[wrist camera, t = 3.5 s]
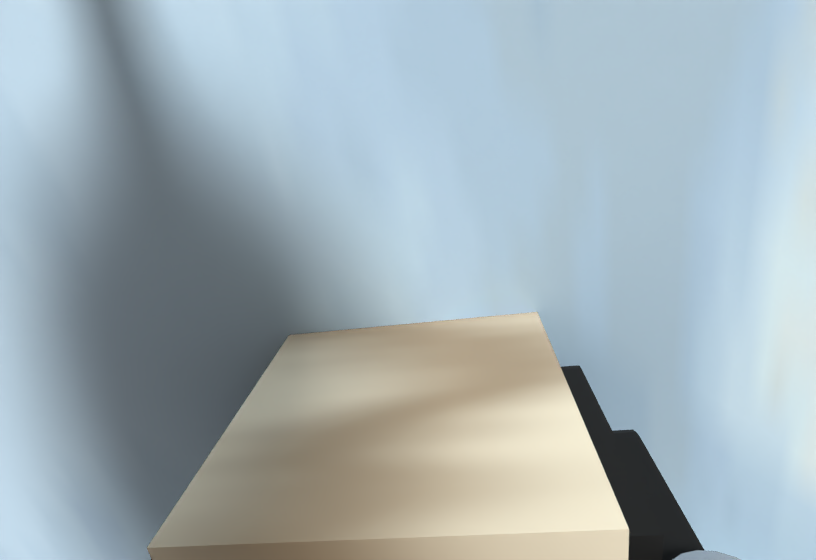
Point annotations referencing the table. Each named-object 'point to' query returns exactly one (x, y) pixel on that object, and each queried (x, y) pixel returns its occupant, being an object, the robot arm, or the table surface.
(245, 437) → the birch cube
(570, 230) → the table surface
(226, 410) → the table surface
